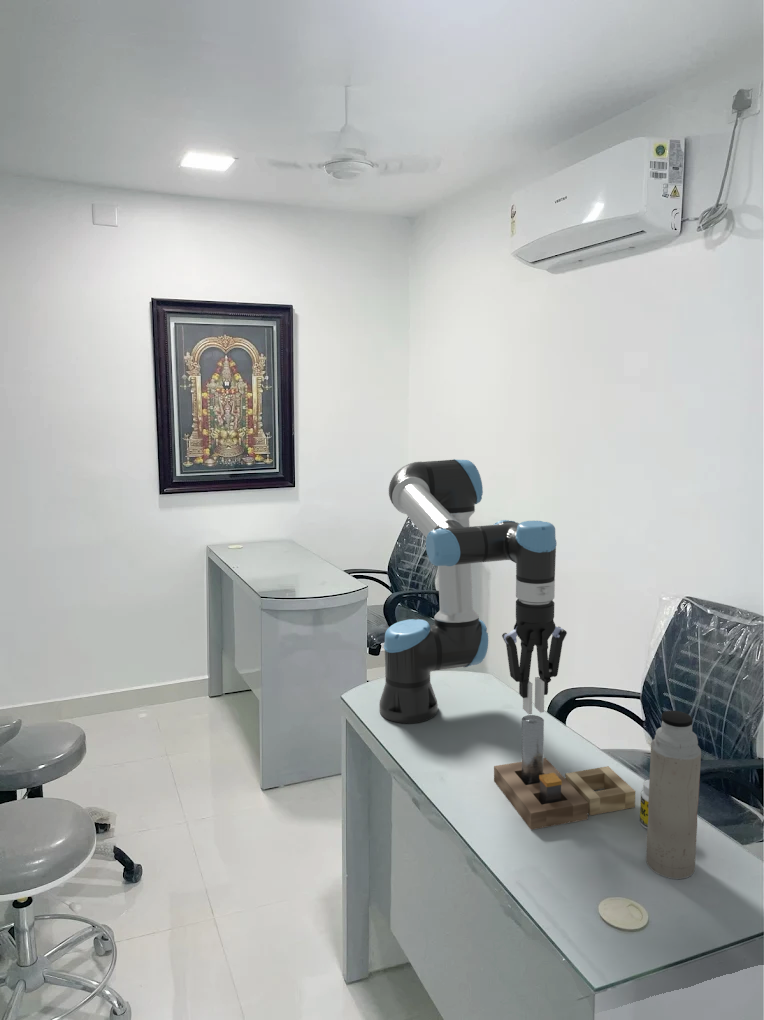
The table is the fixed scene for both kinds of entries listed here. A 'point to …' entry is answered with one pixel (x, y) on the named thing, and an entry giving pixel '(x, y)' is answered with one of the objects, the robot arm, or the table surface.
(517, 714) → the table surface
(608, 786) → the frame
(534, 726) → the grey metal cylinder
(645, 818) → the supplement bottle
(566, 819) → the socket block
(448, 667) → the robot arm
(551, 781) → the key
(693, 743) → the thermos bottle
